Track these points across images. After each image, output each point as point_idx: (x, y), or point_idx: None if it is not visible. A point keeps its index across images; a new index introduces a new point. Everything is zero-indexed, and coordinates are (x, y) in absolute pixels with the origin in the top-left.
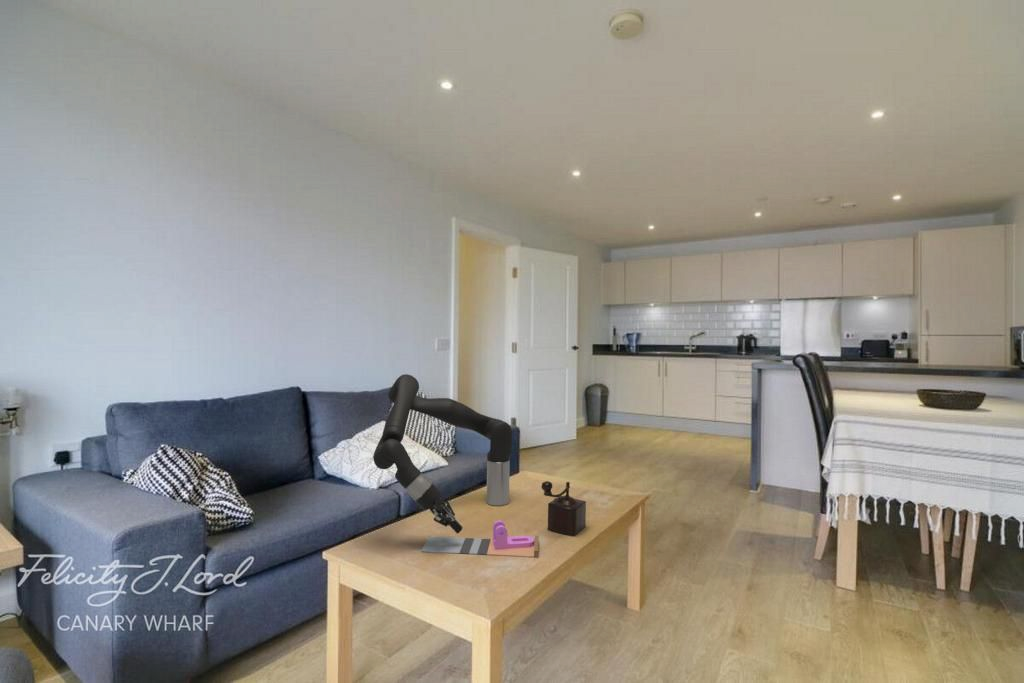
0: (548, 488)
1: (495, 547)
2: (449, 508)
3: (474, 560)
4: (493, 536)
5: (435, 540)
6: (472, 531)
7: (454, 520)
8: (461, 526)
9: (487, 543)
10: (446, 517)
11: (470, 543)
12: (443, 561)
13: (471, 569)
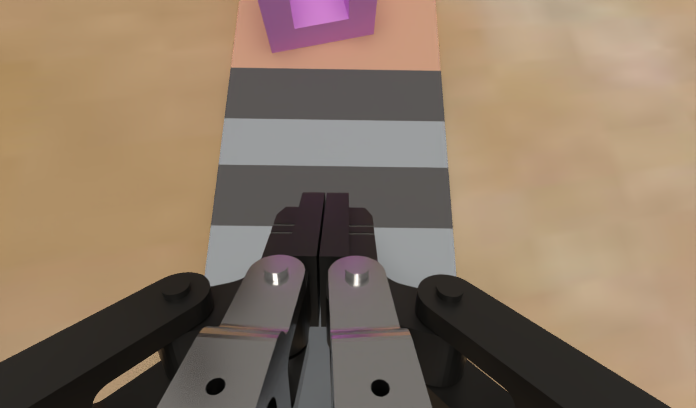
0: None
1: (374, 25)
2: (56, 400)
3: (518, 130)
4: (278, 20)
5: None
6: (83, 197)
7: (324, 261)
8: (314, 196)
9: (297, 80)
10: (539, 363)
11: (301, 179)
12: (580, 316)
13: (627, 131)
